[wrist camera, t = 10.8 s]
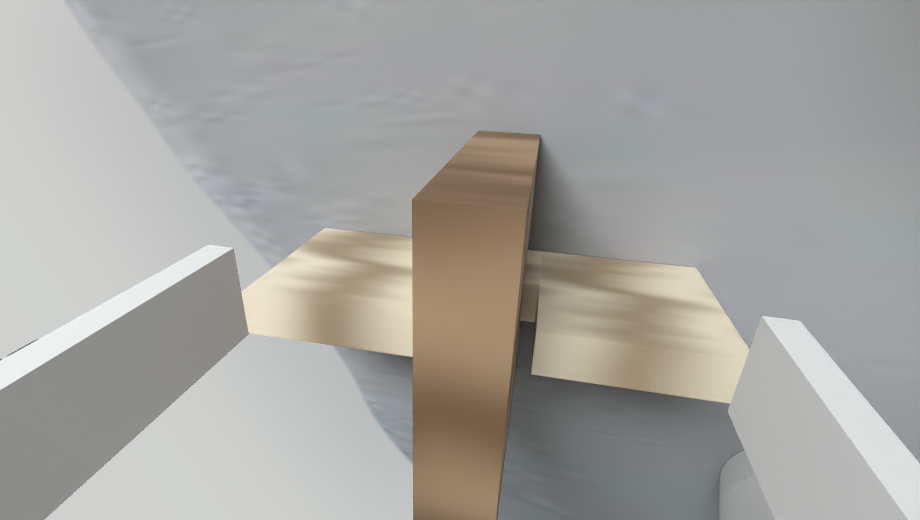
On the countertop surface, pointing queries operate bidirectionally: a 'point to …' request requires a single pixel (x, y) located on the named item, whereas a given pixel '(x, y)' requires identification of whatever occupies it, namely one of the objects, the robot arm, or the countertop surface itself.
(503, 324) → the brown wooden board
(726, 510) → the cup
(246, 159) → the countertop surface
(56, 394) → the robot arm
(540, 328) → the maple plate
